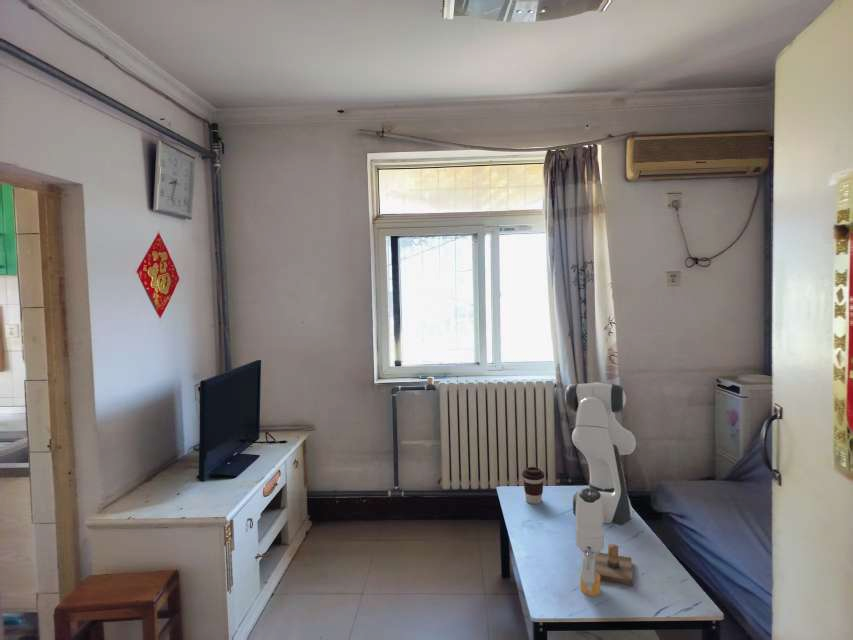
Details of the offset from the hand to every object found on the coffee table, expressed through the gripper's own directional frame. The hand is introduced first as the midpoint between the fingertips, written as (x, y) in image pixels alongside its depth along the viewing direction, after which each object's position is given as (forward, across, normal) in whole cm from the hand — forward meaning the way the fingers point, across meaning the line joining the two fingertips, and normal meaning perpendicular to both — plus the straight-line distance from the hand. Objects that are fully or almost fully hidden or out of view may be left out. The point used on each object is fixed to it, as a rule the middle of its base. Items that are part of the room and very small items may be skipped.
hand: (590, 580), depth 157 cm
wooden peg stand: (+3, +13, -7) cm, 15 cm away
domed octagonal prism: (+3, 0, 0) cm, 3 cm away
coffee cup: (+3, +59, +28) cm, 66 cm away
